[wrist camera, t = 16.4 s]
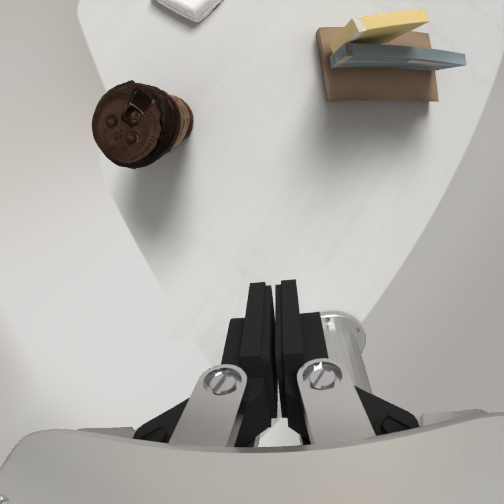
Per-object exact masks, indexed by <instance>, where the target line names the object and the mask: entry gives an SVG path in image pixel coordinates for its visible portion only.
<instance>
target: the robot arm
mask: <svg viewBox="0 0 504 504" xmlns="http://www.w3.org/2000/svg"><path fill="white" fill-rule="evenodd" d="M365 343H366V336H365V333H364V330H363V327H362V325H361V324H360V323H359V321H358V320H356V319H355V318H354V317H352V316H350V315H348V314H344V313H340V312H324V313H320V312H314V313H303V314H300V313H299V304H298V295H297V286H296V279H295V280H283V281H281V285H276V311H275V316H274V306H273V297H272V288H271V285H270V286H266V284H265V282H259V283H250V287H249V294H248V301H247V308H246V315H245V318H234V319H231V320H230V323H229V328H228V333H227V338H226V343H225V347H224V352H223V357H222V362H221V365H217V366H214V367H212V368H209V369H208V370H206V371H205V372H204V373H203V374H202V375H201V376H200V378H199V380H198V382H197V384H196V386H195V388H194V391H193V392H192V394H191V397H190V398H188V399H186V400H185V401H183V402H181V403H180V404H178V405H177V406H175V407H173V408H171V409H170V410H168V411H166V412H164V413H163V414H161V415H159V416H157V417H156V418H154V419H152V420H150V421H149V422H147V423H145V424H143V425H142V426H141V427H139V428H138V429H137V430H134V429H133V428H132V427H121V428H84V429H78V430H69V429H52V430H43V431H37V432H34V433H31V434H28V435H27V436H25V437H23V438H22V439H21V440H20V441H19V442H18V443H17V444H16V445H15V447H14V448H13V449H12V451H11V452H10V454H9V455H8V457H7V458H6V460H5V461H4V463H3V465H2V466H1V468H0V504H504V412H503V413H502V412H492V413H487V412H485V411H483V410H477V409H473V410H464V411H452V412H437V413H423V414H422V416H421V417H415V416H414V415H412V414H411V413H409V412H408V411H405V410H404V409H401V408H399V407H397V406H395V405H393V404H391V403H389V402H387V401H385V400H383V399H381V398H379V397H376V396H374V395H373V394H372V391H371V387H370V383H369V380H368V376H367V373H366V369H365V366H364V363H363V360H362V356H361V353H362V351H363V349H364V347H365ZM278 385H279V394H280V403H281V412H282V418H288V426H289V427H290V428H291V429H293V430H294V431H296V432H297V433H299V434H300V443H301V445H299V446H283V447H258V444H259V434H260V433H262V432H263V431H264V430H266V429H267V428H268V427H271V418H277V402H278Z"/></svg>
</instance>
